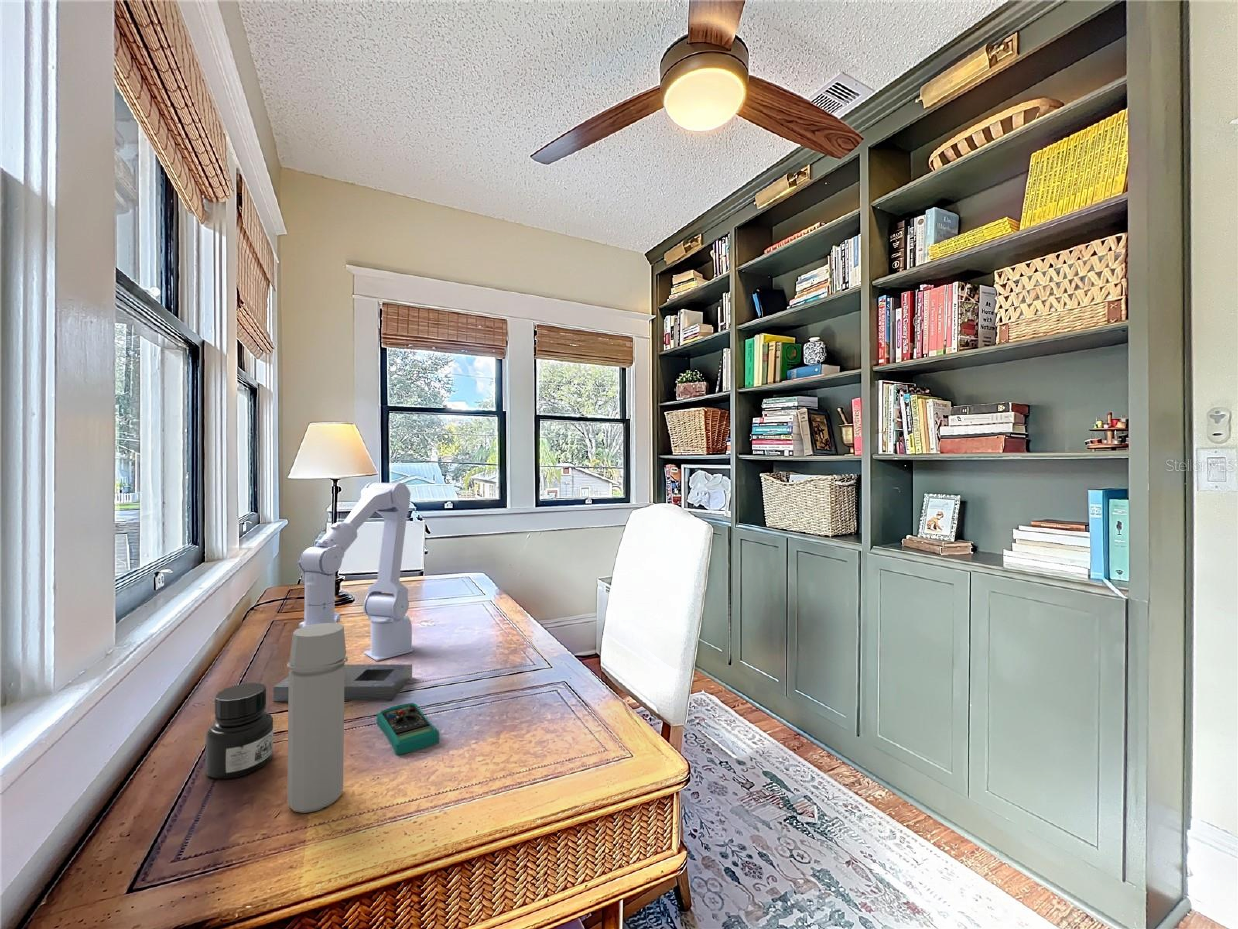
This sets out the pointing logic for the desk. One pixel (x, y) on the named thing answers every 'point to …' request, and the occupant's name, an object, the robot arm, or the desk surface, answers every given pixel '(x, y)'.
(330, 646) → the water bottle
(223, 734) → the ink bottle
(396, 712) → the digital multimeter
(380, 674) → the jack panel
